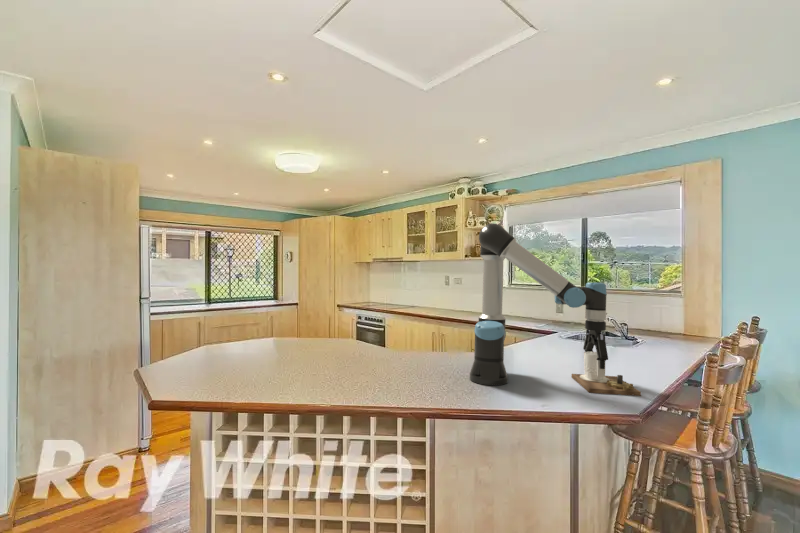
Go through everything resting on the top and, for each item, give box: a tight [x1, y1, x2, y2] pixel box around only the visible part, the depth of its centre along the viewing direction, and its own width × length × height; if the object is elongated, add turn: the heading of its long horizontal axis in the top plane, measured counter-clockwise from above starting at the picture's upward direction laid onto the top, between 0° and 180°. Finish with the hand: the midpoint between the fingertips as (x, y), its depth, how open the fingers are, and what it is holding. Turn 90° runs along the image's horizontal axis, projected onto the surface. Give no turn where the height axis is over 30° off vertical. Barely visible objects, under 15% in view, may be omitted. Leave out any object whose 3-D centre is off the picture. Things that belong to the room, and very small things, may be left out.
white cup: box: [583, 351, 604, 380], centre depth 154 cm, size 8×8×10 cm
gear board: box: [571, 373, 642, 397], centre depth 150 cm, size 18×21×6 cm
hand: (594, 372), depth 154 cm, fingers open, 13 cm apart
